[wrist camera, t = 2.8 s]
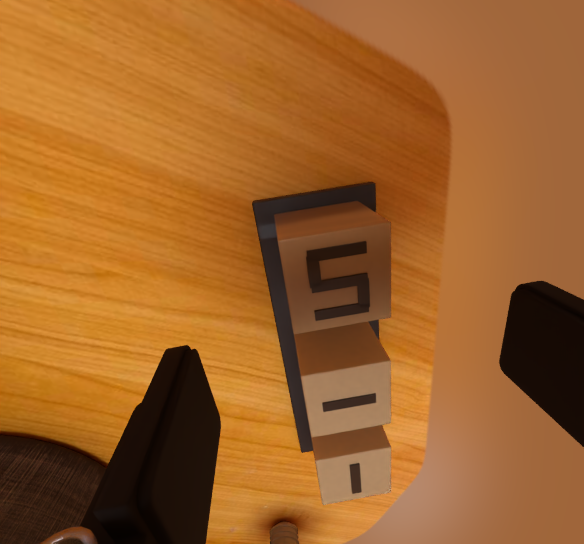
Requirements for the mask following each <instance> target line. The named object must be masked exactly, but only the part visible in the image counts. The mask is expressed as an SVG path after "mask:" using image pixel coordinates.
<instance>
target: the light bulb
mask: <svg viewBox="0 0 584 544" xmlns="http://www.w3.org/2000/svg"><path fill="white" fill-rule="evenodd" d="M297 534H298V529H297V526H296V525H294V524H292V523H289V522H280V523H278V524H277V525H275V526H274V527H272V528H271V530H270V540H271V541H270V544H299V541H298V535H297Z"/></svg>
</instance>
